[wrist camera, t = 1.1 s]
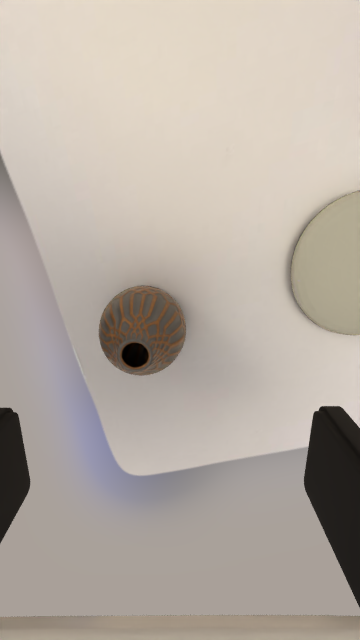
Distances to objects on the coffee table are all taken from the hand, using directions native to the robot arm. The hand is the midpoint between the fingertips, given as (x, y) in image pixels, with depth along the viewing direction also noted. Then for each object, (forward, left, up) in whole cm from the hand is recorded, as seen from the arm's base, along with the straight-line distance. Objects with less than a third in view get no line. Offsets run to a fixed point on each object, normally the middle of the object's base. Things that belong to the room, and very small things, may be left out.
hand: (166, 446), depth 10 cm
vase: (-2, -2, -20) cm, 20 cm away
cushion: (+14, +8, -20) cm, 26 cm away
